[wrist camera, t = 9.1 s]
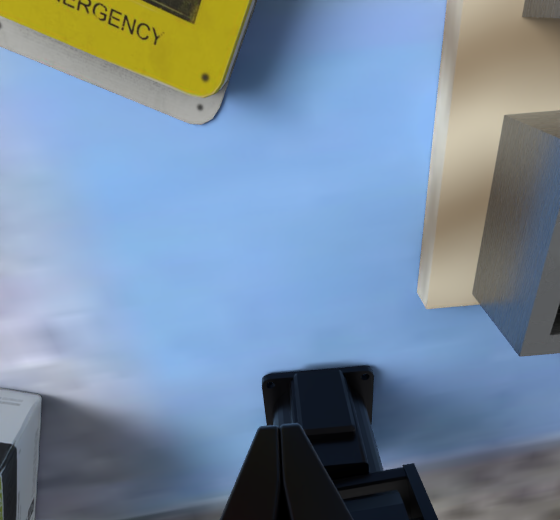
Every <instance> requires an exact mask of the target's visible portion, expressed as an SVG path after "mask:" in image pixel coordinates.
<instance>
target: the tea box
mask: <svg viewBox="0 0 560 520" xmlns="http://www.w3.org/2000/svg"><path fill="white" fill-rule="evenodd" d="M41 401H42V398H41V395H39V394H34V393H28V392H22V391H16V390H10V389H4V388H0V520H35V506H36V495H37V472H38V463H39V439H40V426H41Z"/></svg>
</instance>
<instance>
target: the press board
mask: <svg viewBox="0 0 560 520" xmlns="http://www.w3.org/2000/svg"><path fill="white" fill-rule="evenodd" d="M524 2H525V0H447V6H446V15H445V25H444V35H443V44H442V54H441V64H440V73H439V83H438V93H437V102H436V112H435V122H434V131H433V141H432V151H431V160H430V170H429V180H428V189H427V199H426V209H425V218H424V228H423V238H422V247H421V257H420V267H419V276H418V286H417V293H418V295H419V297H420V299H421V301H422V302H423V304H424V306H425V308H426V309H433V308H445V307H456V306H468V305H479V302H478V301H477V300H476V298H475V297H474V296H473V294H472V291H473V285H474V280H475V274H476V269H477V263H478V258H479V252H480V247H481V241H482V235H483V230H484V224H485V219H486V213H487V208H488V202H489V197H490V191H491V185H492V180H493V174H494V169H495V163H496V158H497V152H498V147H499V141H500V136H501V130H502V124H503V119H504V115H508V114H520V113H532V112H544V111H556V110H560V18H540V17H522V13H523V8H524Z"/></svg>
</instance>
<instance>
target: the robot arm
mask: <svg viewBox="0 0 560 520" xmlns="http://www.w3.org/2000/svg"><path fill="white" fill-rule="evenodd" d="M363 374H366V375H363ZM269 382H273V383H269ZM373 382H374V375H373V372H372V369H371V368H370V367H368V366H356V367H345V368H333V369H322V370H310V371H299V372H288V373H276V374H268V375H265V376H264V377H263V378H262V390H263V398H264V406H265V414H266V422H267V426H261V427H259V428H258V430H257V432H256V434H255V437H254V439H253V442H252V444H251V446H250V449H249V451H248V454H247V456H246V458H245V461H244V463H243V466H242V468H241V470H240V473H239V475H238V477H237V480H236V482H235V485H234V487H233V489H232V492H231V494H230V497H229V499H228V501H227V504H226V506H225V508H224V511H223V513H222V516H221V518H220V520H438V518H437V516H436V513H435V511H434V509H433V506H432V504H431V502H430V500H429V497H428V495H427V493H426V490H425V488H424V486H423V483H422V481H421V479H420V476H419V474H418V472H417V469H416V467H415V465H414V463H412V464H407V465H403V467H401V468H395V469H390V470H383V467H382V463H381V460H380V456H379V452H378V449H377V445H376V441H375V438H374V434H373V431H372V427H371V422H372V402H373Z"/></svg>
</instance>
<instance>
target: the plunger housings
mask: <svg viewBox="0 0 560 520" xmlns="http://www.w3.org/2000/svg"><path fill="white" fill-rule="evenodd" d="M522 17H540V18H560V0H525V2H524V8H523V13H522ZM472 294H473V296H474V297H475V298H476V300H477V301H478V302H479V304H480V305H481V306H482V308H483V309H484V310H485V312H486V313H487V314H488V316H489V317H490V318H491V320H492V321H493V322H494V323H495V325H496V326H497V327H498V329H499V330H500V331H501V333H502V334H503V335H504V337H505V338H506V339H507V341H508V342H509V343H510V345H511V346H512V347H513V349H514V350H515V351H516V353H517V354H518V355H519V356H531V355H542V354H554V353H560V110H556V111H544V112H532V113H520V114H508V115H504V119H503V124H502V130H501V136H500V141H499V147H498V152H497V158H496V163H495V169H494V174H493V180H492V185H491V191H490V197H489V202H488V208H487V213H486V219H485V224H484V230H483V235H482V241H481V247H480V252H479V258H478V263H477V269H476V274H475V280H474V285H473V291H472Z"/></svg>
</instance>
